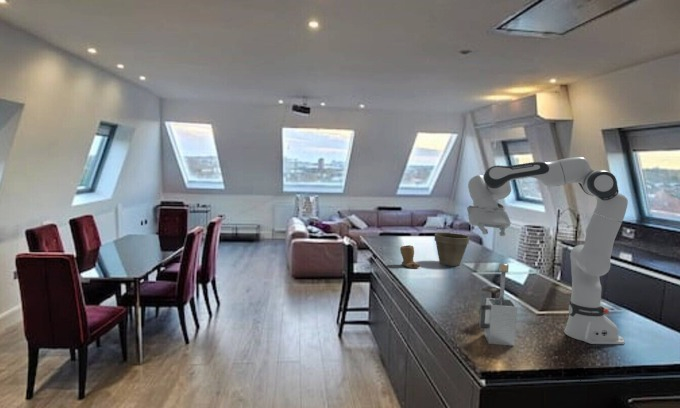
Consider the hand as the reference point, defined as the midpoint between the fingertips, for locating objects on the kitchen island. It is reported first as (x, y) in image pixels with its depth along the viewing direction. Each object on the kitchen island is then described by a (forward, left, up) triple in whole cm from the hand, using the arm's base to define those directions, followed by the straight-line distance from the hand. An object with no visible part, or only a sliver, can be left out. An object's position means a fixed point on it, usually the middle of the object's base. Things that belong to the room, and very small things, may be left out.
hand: (494, 234), depth 188 cm
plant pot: (+1, -132, -43) cm, 139 cm away
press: (-1, +11, -42) cm, 44 cm away
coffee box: (-2, -9, -43) cm, 44 cm away
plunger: (-2, +11, -33) cm, 35 cm away
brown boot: (+32, -115, -43) cm, 127 cm away
